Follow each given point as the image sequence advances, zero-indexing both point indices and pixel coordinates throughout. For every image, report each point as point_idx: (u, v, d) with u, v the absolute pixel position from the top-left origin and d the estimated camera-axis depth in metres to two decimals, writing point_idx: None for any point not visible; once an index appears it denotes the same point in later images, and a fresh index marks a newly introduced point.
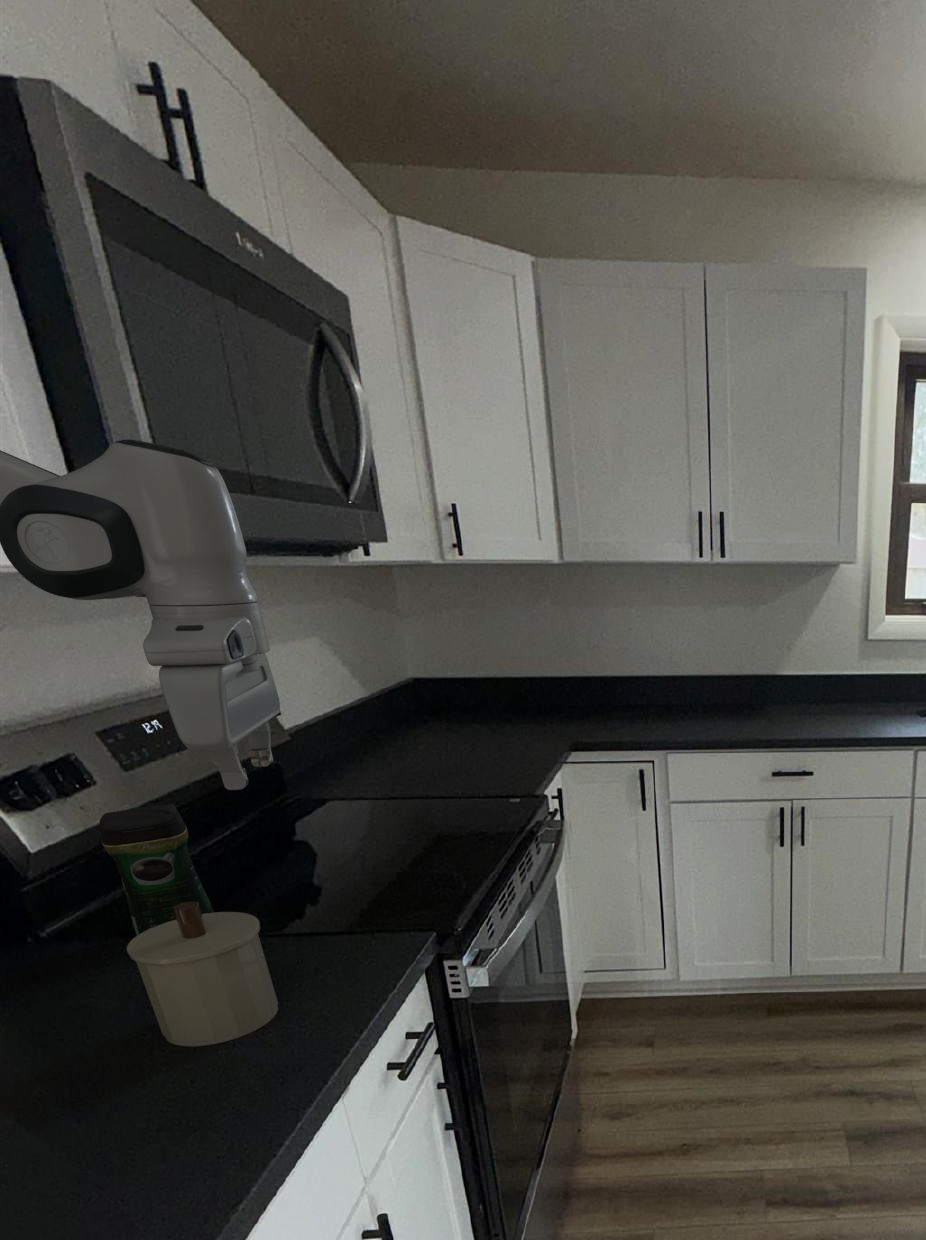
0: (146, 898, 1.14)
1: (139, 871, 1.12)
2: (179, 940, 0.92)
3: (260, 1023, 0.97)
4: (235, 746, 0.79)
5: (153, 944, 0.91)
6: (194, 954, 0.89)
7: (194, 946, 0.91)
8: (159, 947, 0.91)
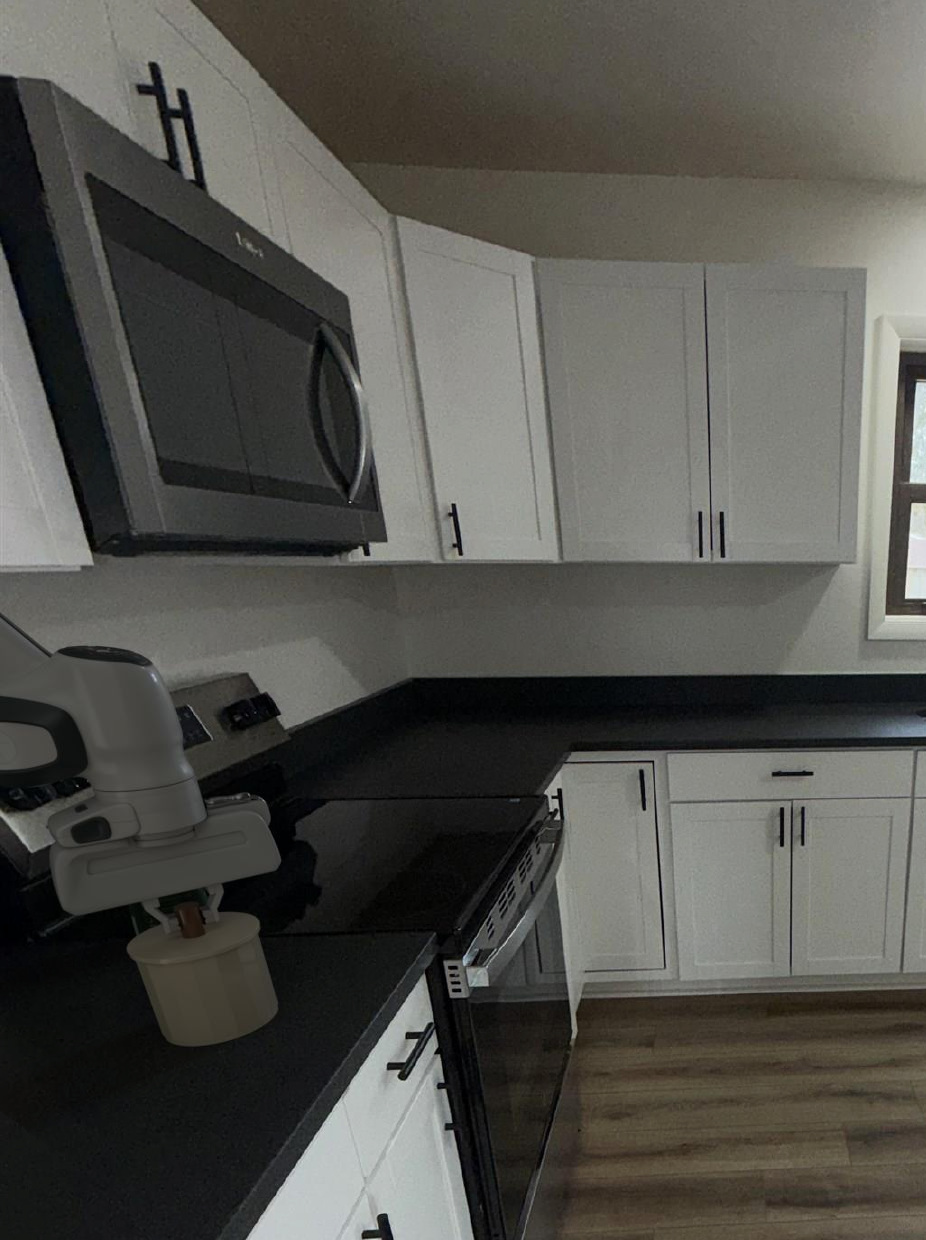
0: None
1: None
2: (179, 940, 0.92)
3: (260, 1023, 0.97)
4: (153, 901, 0.89)
5: (153, 944, 0.91)
6: (194, 954, 0.89)
7: (194, 946, 0.91)
8: (159, 947, 0.91)
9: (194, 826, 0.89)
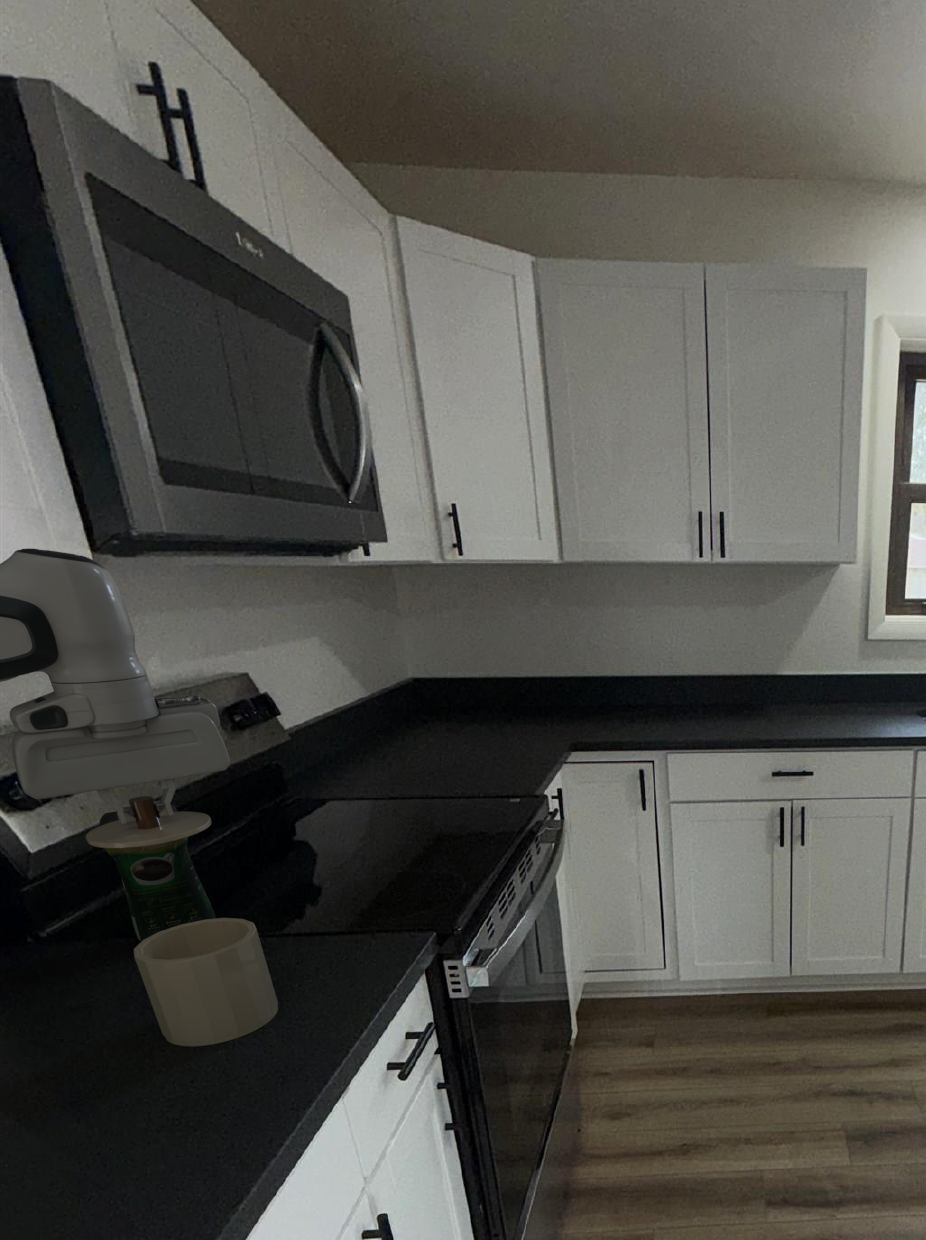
0: (146, 898, 1.14)
1: (139, 871, 1.12)
2: (134, 830, 1.00)
3: (260, 1023, 0.97)
4: (109, 791, 0.97)
5: (110, 833, 0.99)
6: (147, 840, 0.97)
7: (148, 834, 0.99)
8: (116, 835, 0.99)
9: (146, 722, 0.97)
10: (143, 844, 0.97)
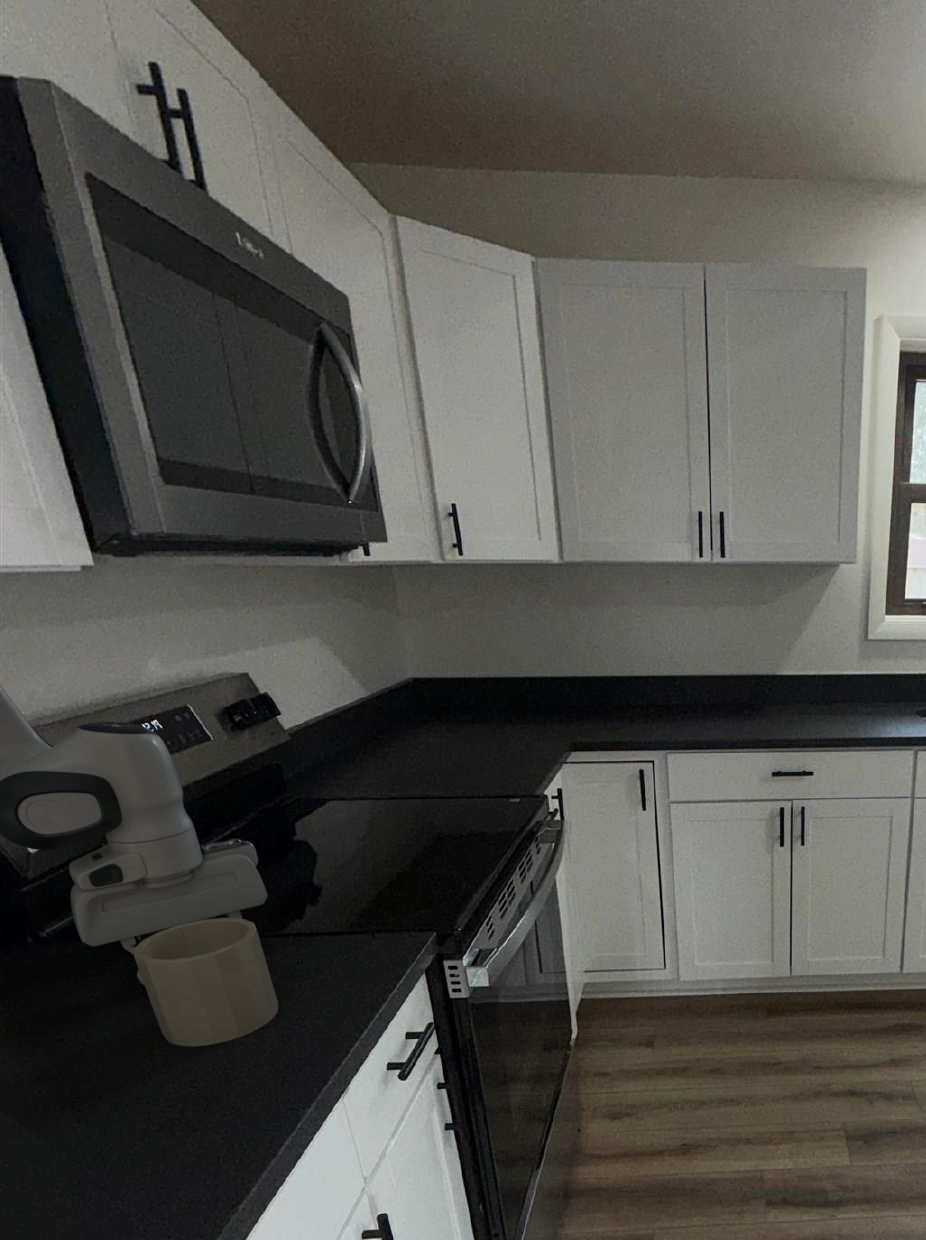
0: None
1: None
2: None
3: (260, 1023, 0.97)
4: (130, 940, 1.03)
5: None
6: None
7: None
8: None
9: (192, 869, 1.05)
10: None
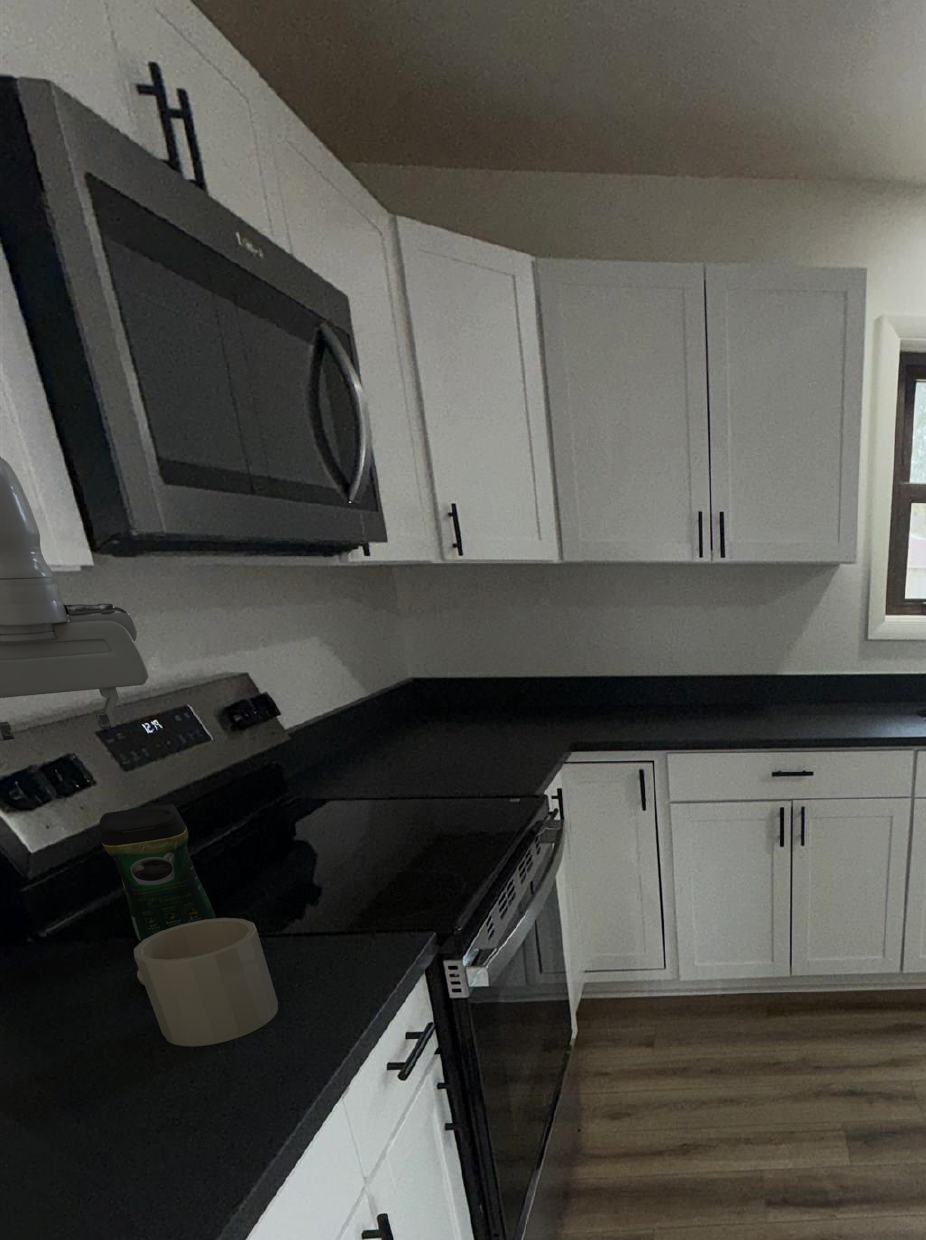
0: (146, 898, 1.14)
1: (139, 871, 1.12)
2: None
3: (260, 1023, 0.97)
4: None
5: None
6: None
7: None
8: None
9: (54, 628, 0.93)
10: None
